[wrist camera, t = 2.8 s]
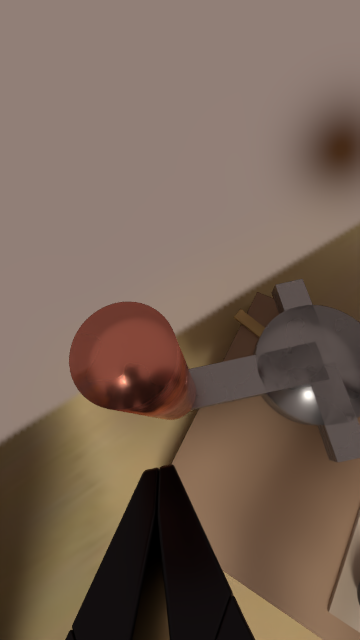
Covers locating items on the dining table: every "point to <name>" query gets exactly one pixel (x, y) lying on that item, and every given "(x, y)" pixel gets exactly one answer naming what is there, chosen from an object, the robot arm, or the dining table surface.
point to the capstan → (229, 367)
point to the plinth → (276, 502)
